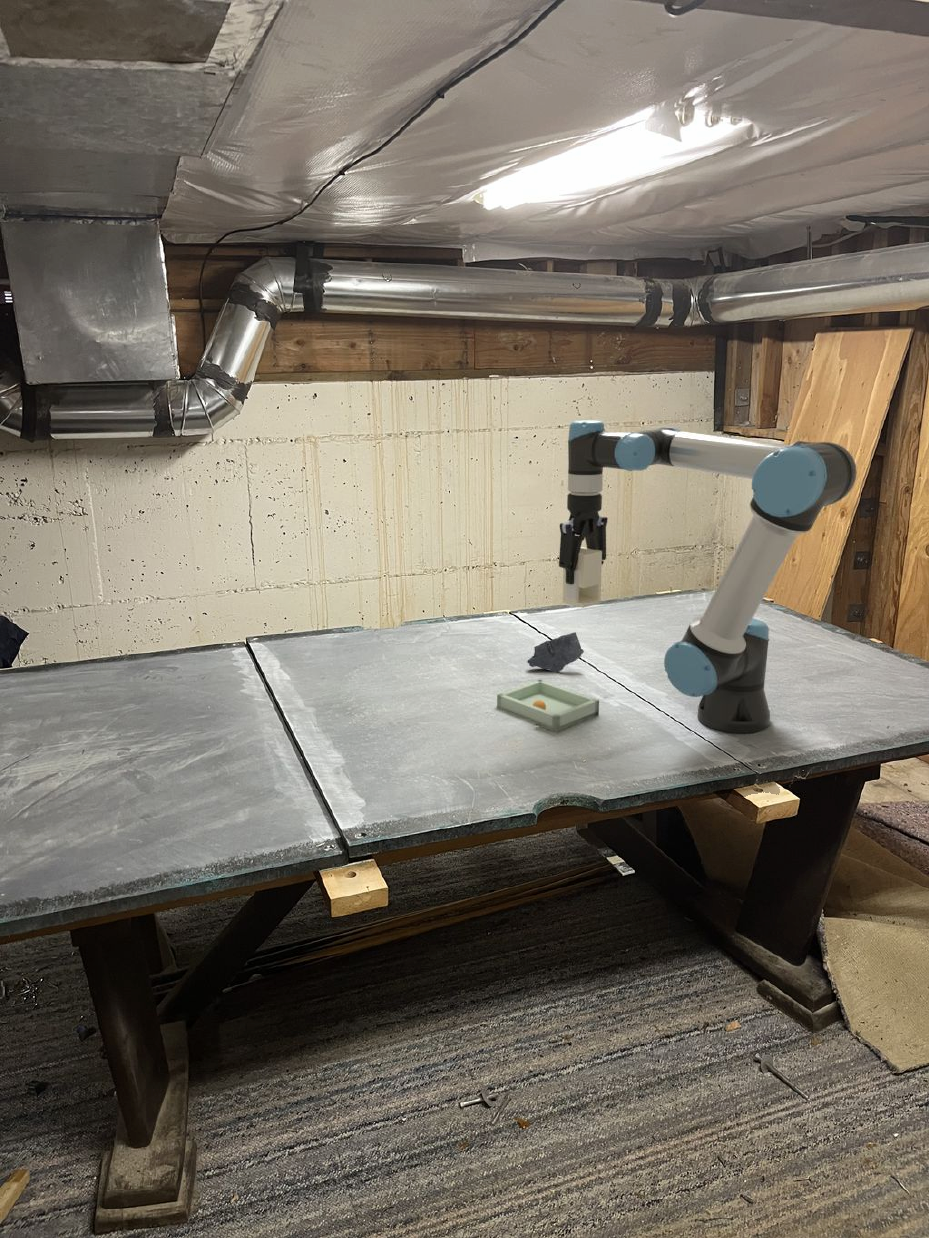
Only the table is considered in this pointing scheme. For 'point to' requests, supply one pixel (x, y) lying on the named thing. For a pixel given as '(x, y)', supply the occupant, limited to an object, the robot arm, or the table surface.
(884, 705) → the table surface
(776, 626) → the table surface
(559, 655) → the stone
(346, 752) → the table surface
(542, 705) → the ball
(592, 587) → the hollow box
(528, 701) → the tray
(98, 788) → the table surface
